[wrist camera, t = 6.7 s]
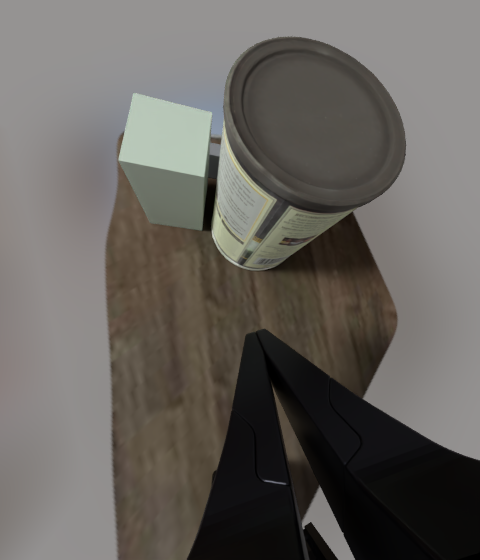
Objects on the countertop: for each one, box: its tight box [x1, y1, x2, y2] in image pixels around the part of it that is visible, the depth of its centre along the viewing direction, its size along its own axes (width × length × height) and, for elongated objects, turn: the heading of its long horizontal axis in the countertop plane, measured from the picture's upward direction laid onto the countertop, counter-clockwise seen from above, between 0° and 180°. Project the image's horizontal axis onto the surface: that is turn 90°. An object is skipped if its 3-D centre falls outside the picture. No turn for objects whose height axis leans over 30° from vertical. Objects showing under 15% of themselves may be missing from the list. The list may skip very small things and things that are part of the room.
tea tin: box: [119, 93, 212, 231], centre depth 19 cm, size 6×6×9 cm
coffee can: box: [211, 37, 406, 271], centre depth 17 cm, size 10×10×14 cm
